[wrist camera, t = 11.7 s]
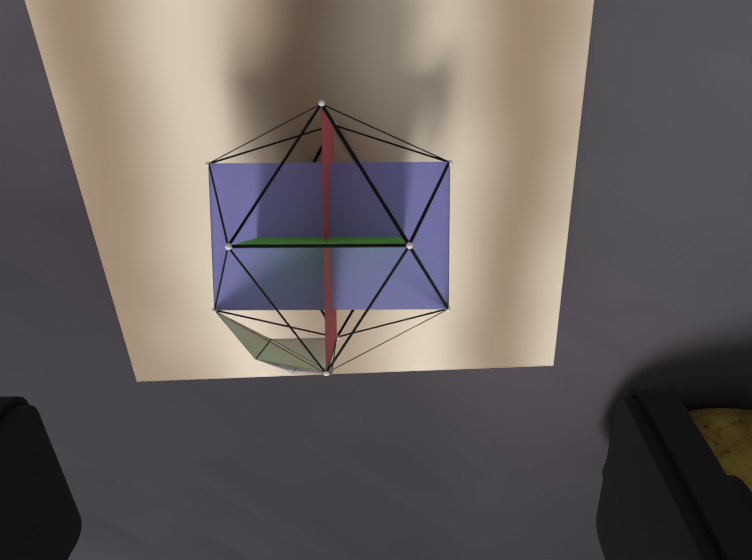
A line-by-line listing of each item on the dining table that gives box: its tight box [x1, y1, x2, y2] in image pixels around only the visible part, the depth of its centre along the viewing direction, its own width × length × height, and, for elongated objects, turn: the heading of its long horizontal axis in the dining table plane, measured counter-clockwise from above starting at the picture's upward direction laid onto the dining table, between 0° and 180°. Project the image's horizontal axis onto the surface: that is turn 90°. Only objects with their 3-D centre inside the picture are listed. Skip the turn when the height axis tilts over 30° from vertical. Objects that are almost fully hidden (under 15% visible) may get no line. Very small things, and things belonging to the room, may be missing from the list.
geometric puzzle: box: [205, 100, 453, 376], centre depth 17 cm, size 7×7×8 cm
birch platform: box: [25, 0, 594, 381], centre depth 21 cm, size 16×14×3 cm
